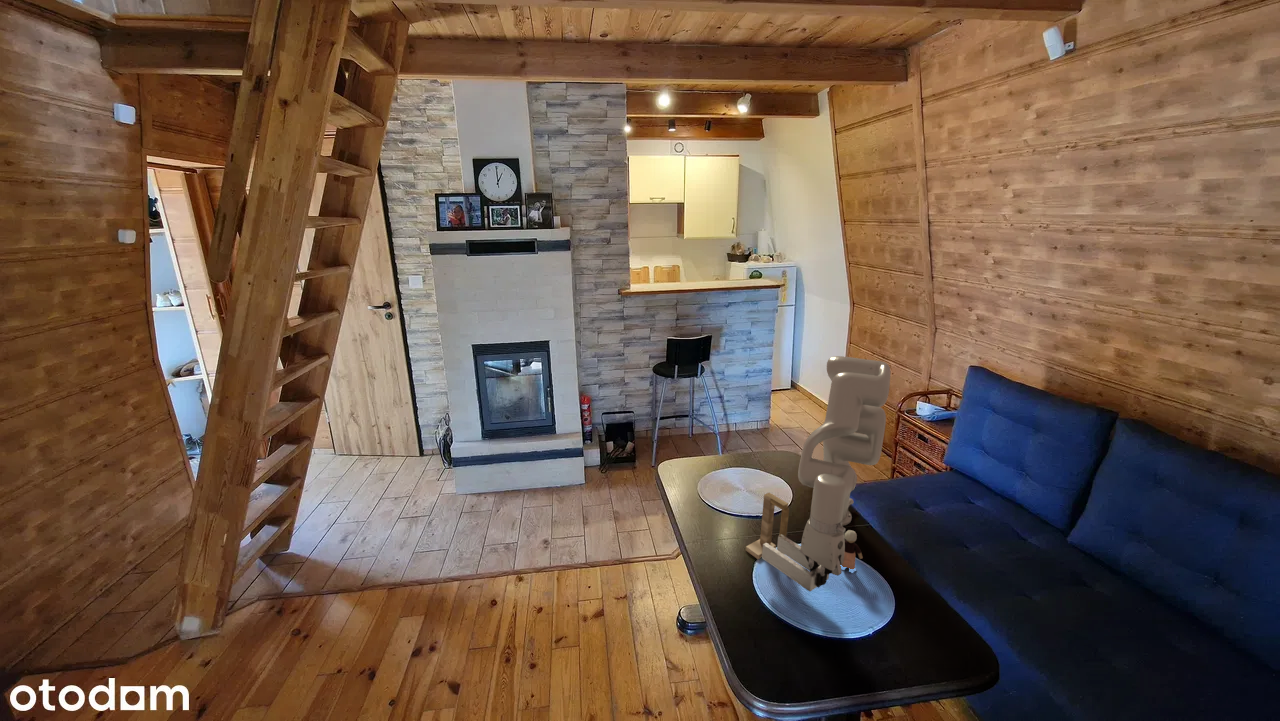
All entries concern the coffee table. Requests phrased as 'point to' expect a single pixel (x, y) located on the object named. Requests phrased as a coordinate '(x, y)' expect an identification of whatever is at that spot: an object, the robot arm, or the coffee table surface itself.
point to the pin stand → (769, 524)
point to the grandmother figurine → (850, 549)
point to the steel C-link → (791, 562)
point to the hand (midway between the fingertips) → (817, 582)
